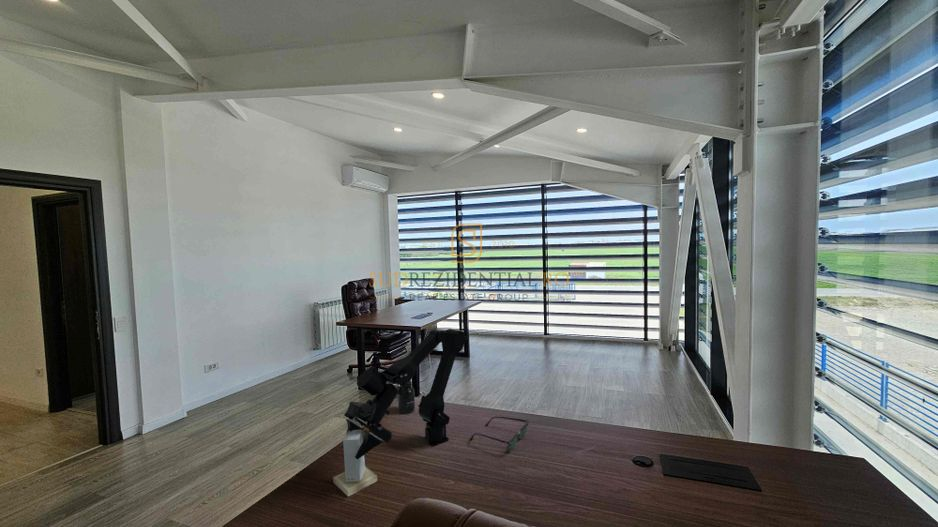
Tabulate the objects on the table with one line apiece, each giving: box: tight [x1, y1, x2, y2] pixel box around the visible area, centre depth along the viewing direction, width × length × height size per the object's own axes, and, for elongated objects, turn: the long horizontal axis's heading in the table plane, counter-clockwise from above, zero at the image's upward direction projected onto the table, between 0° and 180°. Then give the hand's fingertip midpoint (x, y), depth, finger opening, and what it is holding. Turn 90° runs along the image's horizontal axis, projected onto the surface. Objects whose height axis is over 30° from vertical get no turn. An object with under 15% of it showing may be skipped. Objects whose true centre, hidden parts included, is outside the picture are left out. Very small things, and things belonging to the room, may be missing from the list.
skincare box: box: [342, 430, 366, 482], centre depth 103 cm, size 6×4×12 cm
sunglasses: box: [470, 416, 530, 453], centre depth 124 cm, size 16×17×5 cm
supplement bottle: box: [397, 380, 416, 415], centre depth 149 cm, size 7×7×12 cm
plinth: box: [332, 466, 378, 497], centre depth 103 cm, size 9×9×2 cm
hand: (349, 453), depth 102 cm, fingers open, 7 cm apart
